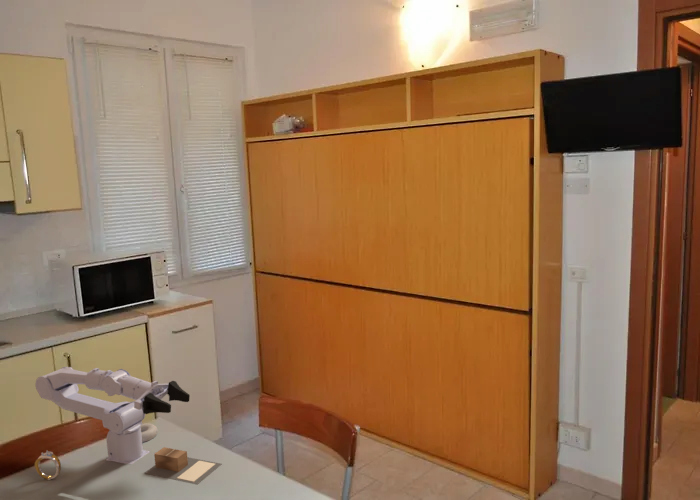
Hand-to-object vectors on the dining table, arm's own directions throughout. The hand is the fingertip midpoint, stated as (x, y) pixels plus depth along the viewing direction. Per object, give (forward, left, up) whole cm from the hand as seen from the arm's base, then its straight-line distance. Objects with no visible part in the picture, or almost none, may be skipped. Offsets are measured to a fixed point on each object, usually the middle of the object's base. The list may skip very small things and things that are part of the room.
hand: (179, 403), depth 156 cm
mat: (0, -1, -19) cm, 19 cm away
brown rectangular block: (-4, -1, -19) cm, 19 cm away
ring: (-33, -16, -19) cm, 42 cm away
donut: (-26, +11, -20) cm, 35 cm away
